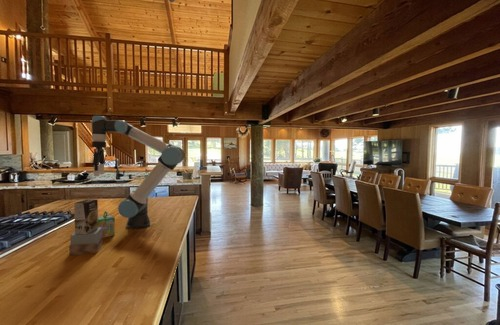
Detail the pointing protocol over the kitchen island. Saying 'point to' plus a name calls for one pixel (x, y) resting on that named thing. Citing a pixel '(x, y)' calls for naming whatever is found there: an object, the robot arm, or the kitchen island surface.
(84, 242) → the grey flat block
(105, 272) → the kitchen island surface
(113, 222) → the chalk box
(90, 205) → the coffee box
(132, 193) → the robot arm
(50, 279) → the kitchen island surface
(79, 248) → the tower base
